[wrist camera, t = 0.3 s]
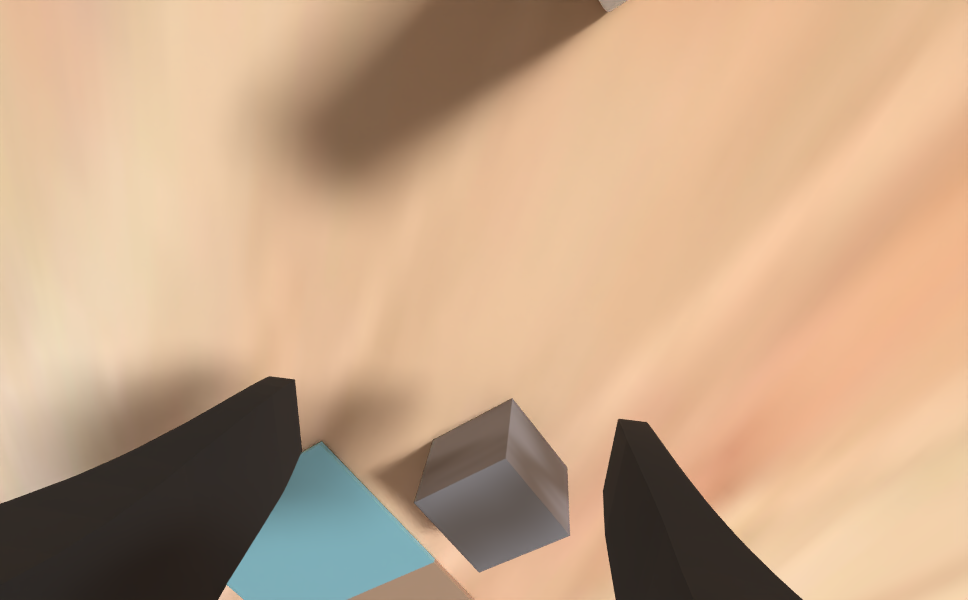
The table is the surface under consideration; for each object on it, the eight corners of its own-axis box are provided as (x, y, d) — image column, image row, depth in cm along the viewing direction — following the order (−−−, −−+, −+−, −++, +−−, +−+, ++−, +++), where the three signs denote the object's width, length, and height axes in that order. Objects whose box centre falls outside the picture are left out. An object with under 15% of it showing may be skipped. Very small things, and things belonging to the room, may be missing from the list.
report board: (529, 657, 31) (529, 661, 31) (374, 708, 35) (374, 711, 35) (321, 441, 26) (319, 444, 26) (167, 529, 30) (165, 532, 30)
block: (567, 465, 25) (569, 535, 21) (488, 501, 27) (479, 572, 23) (512, 396, 24) (505, 458, 20) (433, 438, 25) (414, 502, 22)
